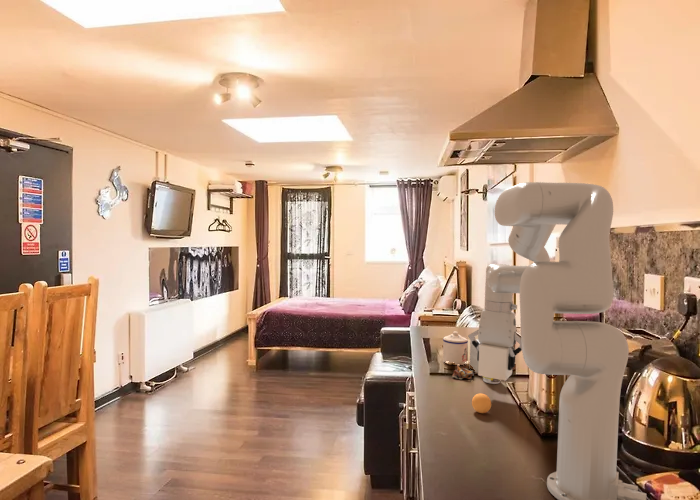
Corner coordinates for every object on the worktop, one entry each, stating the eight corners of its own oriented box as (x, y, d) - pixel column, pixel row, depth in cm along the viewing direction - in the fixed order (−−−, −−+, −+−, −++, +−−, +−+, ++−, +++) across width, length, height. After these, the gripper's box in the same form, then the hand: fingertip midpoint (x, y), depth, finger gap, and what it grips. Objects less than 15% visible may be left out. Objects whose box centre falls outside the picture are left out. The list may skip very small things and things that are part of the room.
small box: (488, 367, 160) (489, 338, 160) (497, 372, 155) (498, 342, 155) (468, 368, 158) (469, 339, 158) (477, 373, 153) (478, 343, 153)
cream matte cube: (512, 373, 131) (513, 344, 130) (505, 380, 124) (506, 349, 124) (485, 368, 135) (487, 340, 134) (478, 375, 128) (479, 345, 128)
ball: (493, 411, 119) (493, 393, 119) (487, 417, 115) (488, 398, 114) (474, 407, 122) (475, 389, 121) (468, 413, 117) (469, 394, 117)
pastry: (474, 372, 155) (474, 362, 155) (473, 383, 144) (473, 372, 144) (453, 370, 157) (454, 360, 157) (451, 380, 146) (452, 370, 146)
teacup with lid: (467, 367, 160) (468, 335, 160) (442, 365, 162) (443, 333, 161) (466, 358, 172) (467, 328, 171) (442, 356, 173) (443, 327, 173)
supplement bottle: (492, 385, 140) (494, 353, 140) (479, 380, 145) (480, 349, 145) (504, 382, 143) (505, 351, 143) (490, 378, 148) (491, 347, 148)
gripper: (532, 308, 127) (529, 369, 128) (472, 301, 136) (470, 358, 137) (526, 312, 121) (524, 375, 121) (464, 304, 130) (462, 363, 131)
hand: (495, 366), depth 129 cm, fingers closed on cream matte cube, 7 cm apart
